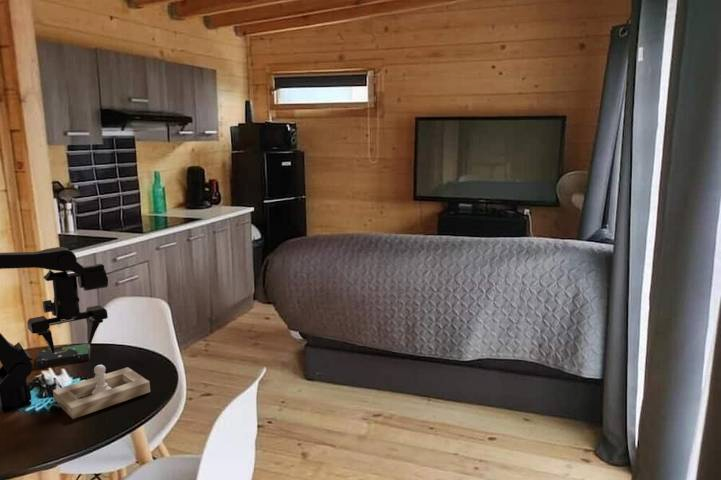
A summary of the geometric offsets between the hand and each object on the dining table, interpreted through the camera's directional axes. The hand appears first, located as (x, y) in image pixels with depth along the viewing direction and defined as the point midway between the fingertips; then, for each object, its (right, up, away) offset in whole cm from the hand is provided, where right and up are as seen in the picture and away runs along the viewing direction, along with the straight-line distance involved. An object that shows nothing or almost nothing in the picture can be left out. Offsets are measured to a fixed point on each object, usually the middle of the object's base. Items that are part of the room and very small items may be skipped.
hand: (71, 348), depth 150 cm
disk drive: (-15, -8, +24) cm, 29 cm away
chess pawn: (+10, -13, -3) cm, 16 cm away
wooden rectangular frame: (+10, -12, -3) cm, 16 cm away
